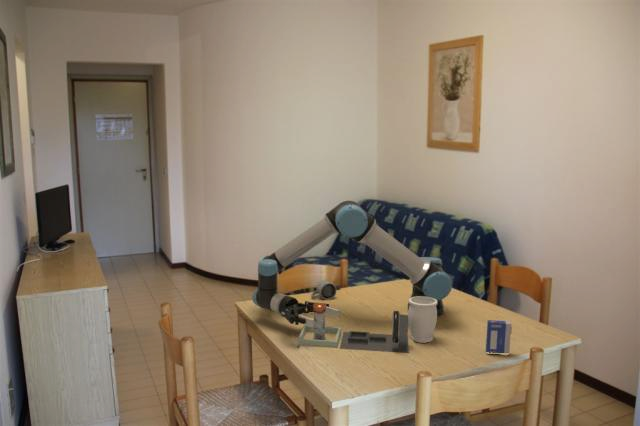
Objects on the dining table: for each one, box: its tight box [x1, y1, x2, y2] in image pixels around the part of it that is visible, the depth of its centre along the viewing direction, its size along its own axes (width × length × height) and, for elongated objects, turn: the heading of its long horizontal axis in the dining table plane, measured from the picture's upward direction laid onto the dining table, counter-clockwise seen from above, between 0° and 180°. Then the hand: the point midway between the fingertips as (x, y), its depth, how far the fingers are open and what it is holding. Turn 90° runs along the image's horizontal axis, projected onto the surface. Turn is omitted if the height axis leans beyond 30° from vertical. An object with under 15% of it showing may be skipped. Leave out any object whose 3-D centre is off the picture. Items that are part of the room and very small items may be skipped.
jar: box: [407, 296, 438, 344], centre depth 214 cm, size 11×10×15 cm
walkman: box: [485, 319, 513, 354], centre depth 201 cm, size 8×3×12 cm, turn 81°
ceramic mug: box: [310, 279, 337, 301], centre depth 261 cm, size 11×8×8 cm
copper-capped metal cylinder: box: [313, 302, 327, 340], centre depth 210 cm, size 5×5×13 cm
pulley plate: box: [339, 310, 410, 354], centre depth 208 cm, size 24×16×14 cm, turn 83°
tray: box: [297, 324, 342, 348], centre depth 211 cm, size 14×14×3 cm
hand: (326, 318), depth 208 cm, fingers open, 13 cm apart
